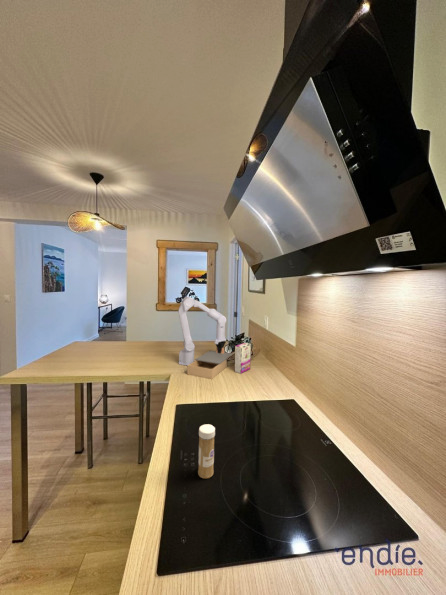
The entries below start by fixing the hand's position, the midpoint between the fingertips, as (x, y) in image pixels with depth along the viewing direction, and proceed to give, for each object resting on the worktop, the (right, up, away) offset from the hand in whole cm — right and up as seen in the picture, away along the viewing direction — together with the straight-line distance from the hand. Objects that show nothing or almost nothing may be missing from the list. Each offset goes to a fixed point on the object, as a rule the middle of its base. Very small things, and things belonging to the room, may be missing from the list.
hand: (220, 352), depth 172 cm
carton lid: (-3, -1, -8) cm, 9 cm away
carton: (-7, -8, -17) cm, 20 cm away
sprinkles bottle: (-3, -13, -100) cm, 101 cm away
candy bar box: (+14, -8, -15) cm, 22 cm away
